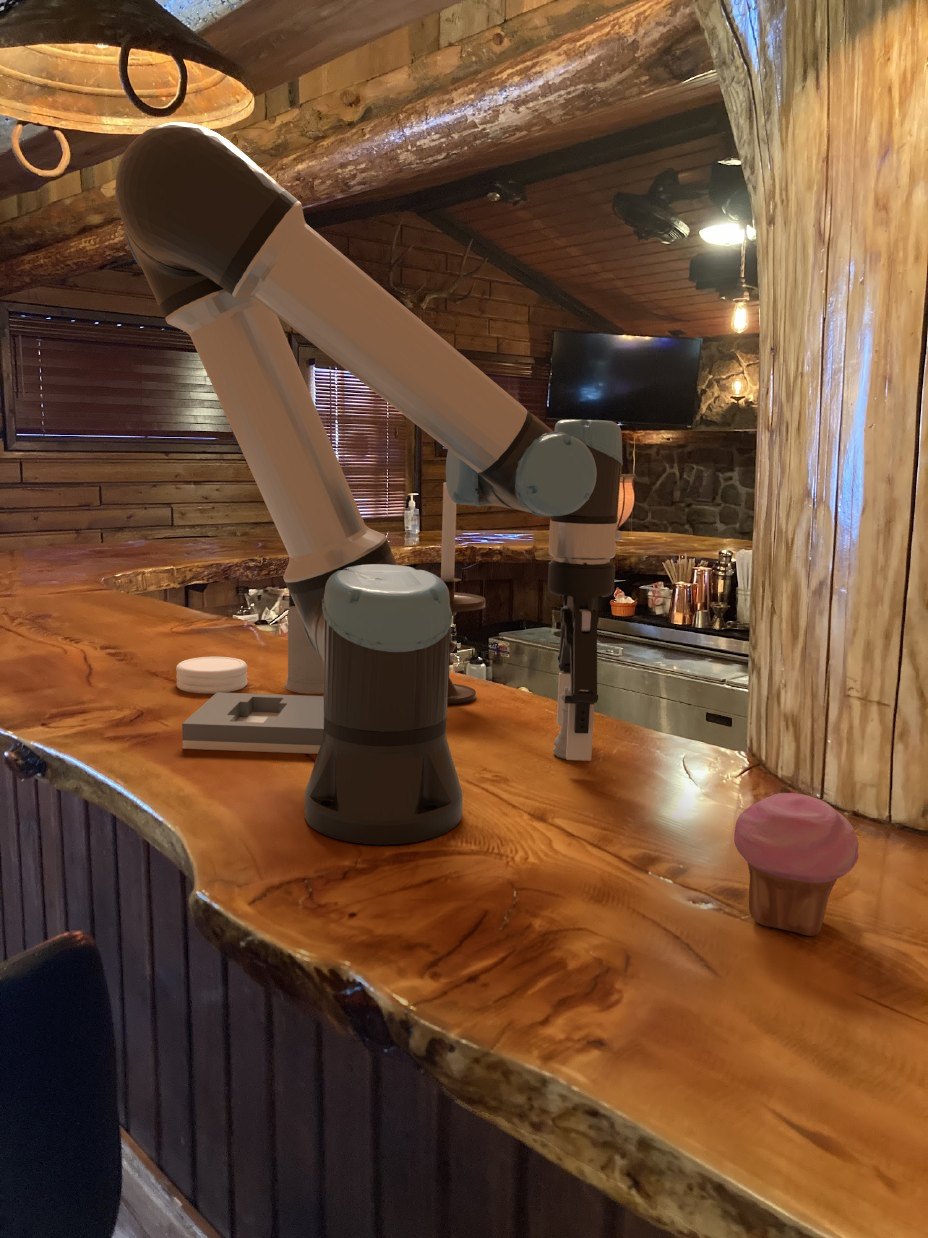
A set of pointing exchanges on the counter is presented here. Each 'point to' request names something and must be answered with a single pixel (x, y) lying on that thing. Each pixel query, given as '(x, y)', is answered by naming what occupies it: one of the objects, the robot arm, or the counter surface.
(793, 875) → the cupcake
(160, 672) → the counter surface
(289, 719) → the grey panel with recess
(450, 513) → the candlestick
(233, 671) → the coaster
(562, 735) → the rook chess piece
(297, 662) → the glass holder
